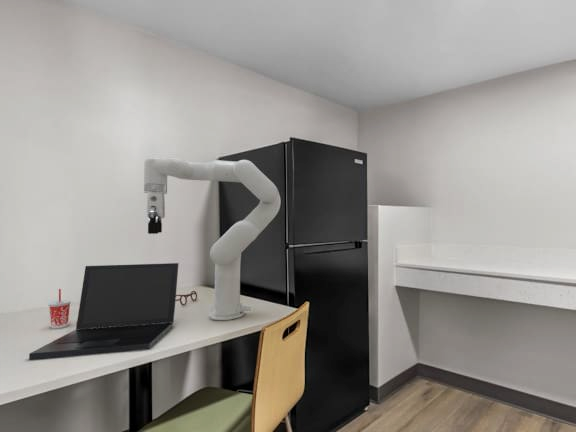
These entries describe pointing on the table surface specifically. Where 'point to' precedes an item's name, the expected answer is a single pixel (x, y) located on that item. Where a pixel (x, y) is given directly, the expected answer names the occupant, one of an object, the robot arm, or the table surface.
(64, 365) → the table surface
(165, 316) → the screen
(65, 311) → the beverage cup
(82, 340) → the laptop
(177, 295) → the glasses
